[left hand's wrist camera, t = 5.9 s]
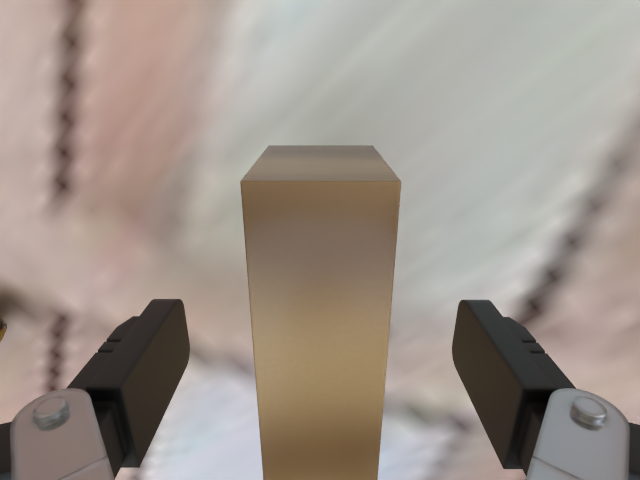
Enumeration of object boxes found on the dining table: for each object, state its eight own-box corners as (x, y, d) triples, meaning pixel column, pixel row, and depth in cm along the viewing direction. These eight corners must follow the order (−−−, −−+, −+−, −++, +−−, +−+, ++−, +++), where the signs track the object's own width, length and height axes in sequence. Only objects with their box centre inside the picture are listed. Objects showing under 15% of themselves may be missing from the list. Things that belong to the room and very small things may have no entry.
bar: (268, 145, 21) (239, 181, 14) (373, 145, 21) (401, 181, 14) (284, 479, 31) (273, 605, 24) (356, 479, 31) (367, 605, 24)
